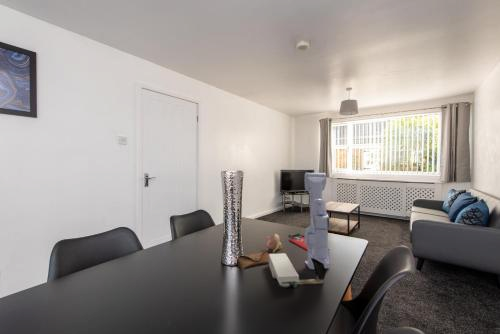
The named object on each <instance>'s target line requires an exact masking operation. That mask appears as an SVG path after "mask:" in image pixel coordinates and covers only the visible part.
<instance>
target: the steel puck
mask: <svg viewBox="0 0 500 334" xmlns="http://www.w3.org/2000/svg"><path fill="white" fill-rule="evenodd" d="M277 282H278V281H277ZM278 286H280V288H290V287H291V286H292V285H291V282H278Z"/></svg>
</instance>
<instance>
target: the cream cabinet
mask: <svg viewBox="0 0 500 334" xmlns="http://www.w3.org/2000/svg"><path fill="white" fill-rule="evenodd" d="M268 255H269V264H268V266H269V270H270V272H271V276H272V278H273V279H276V280H277V282H293V281H299V280H300V276H299V274H298V272H297V270H296V269H295V267H294V265H293V264H292V262H291V260H290V259H289V257H288V255H287V253H286V252H285V253H268Z"/></svg>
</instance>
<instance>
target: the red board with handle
mask: <svg viewBox="0 0 500 334" xmlns="http://www.w3.org/2000/svg"><path fill="white" fill-rule="evenodd" d="M288 236H289V237H291V239H288V242H291V243H292V244H294V245H295V244H296V245H295V246H297V247H300V248H301V249H303V250H305V251H307V252H308V246H306V245H305V235H303V234H301V233H294V234H289V235H288ZM328 250H329V251H330V249H329V248H328Z"/></svg>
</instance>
